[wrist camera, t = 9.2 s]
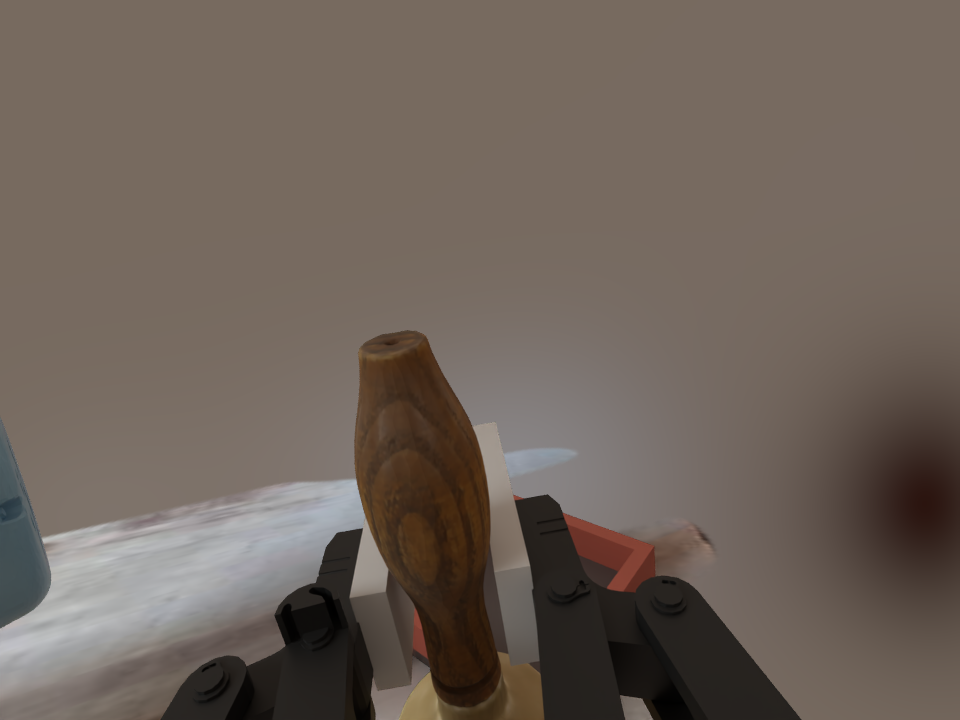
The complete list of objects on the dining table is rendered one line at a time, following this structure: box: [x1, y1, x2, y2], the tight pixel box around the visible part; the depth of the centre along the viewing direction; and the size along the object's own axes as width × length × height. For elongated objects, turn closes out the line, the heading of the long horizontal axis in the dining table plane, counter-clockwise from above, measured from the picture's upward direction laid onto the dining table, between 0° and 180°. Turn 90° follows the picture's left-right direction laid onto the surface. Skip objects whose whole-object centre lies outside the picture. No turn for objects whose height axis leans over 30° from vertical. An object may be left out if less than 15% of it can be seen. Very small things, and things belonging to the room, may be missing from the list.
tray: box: [413, 495, 655, 674], centre depth 37 cm, size 14×14×3 cm
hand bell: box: [354, 330, 544, 720], centre depth 13 cm, size 8×8×16 cm
